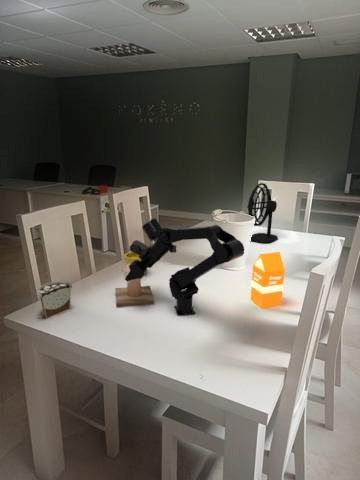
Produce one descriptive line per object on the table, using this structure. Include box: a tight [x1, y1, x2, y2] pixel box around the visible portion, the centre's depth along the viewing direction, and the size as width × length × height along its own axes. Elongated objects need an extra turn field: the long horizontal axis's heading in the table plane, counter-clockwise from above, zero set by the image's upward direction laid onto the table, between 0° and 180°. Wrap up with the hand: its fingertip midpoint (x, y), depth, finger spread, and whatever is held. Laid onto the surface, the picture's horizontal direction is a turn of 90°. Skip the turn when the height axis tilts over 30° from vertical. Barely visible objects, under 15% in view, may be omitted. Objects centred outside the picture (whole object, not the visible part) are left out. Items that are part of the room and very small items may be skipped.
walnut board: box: [114, 285, 155, 308], centre depth 135 cm, size 14×14×2 cm
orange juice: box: [250, 251, 285, 309], centre depth 129 cm, size 8×9×20 cm
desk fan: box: [246, 182, 279, 244], centre depth 215 cm, size 27×18×35 cm, turn 143°
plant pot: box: [124, 251, 141, 265], centre depth 157 cm, size 10×10×10 cm
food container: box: [37, 280, 73, 320], centre depth 122 cm, size 12×6×10 cm, turn 141°
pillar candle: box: [126, 263, 142, 297], centre depth 133 cm, size 5×5×12 cm
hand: (130, 275), depth 133 cm, fingers open, 9 cm apart
